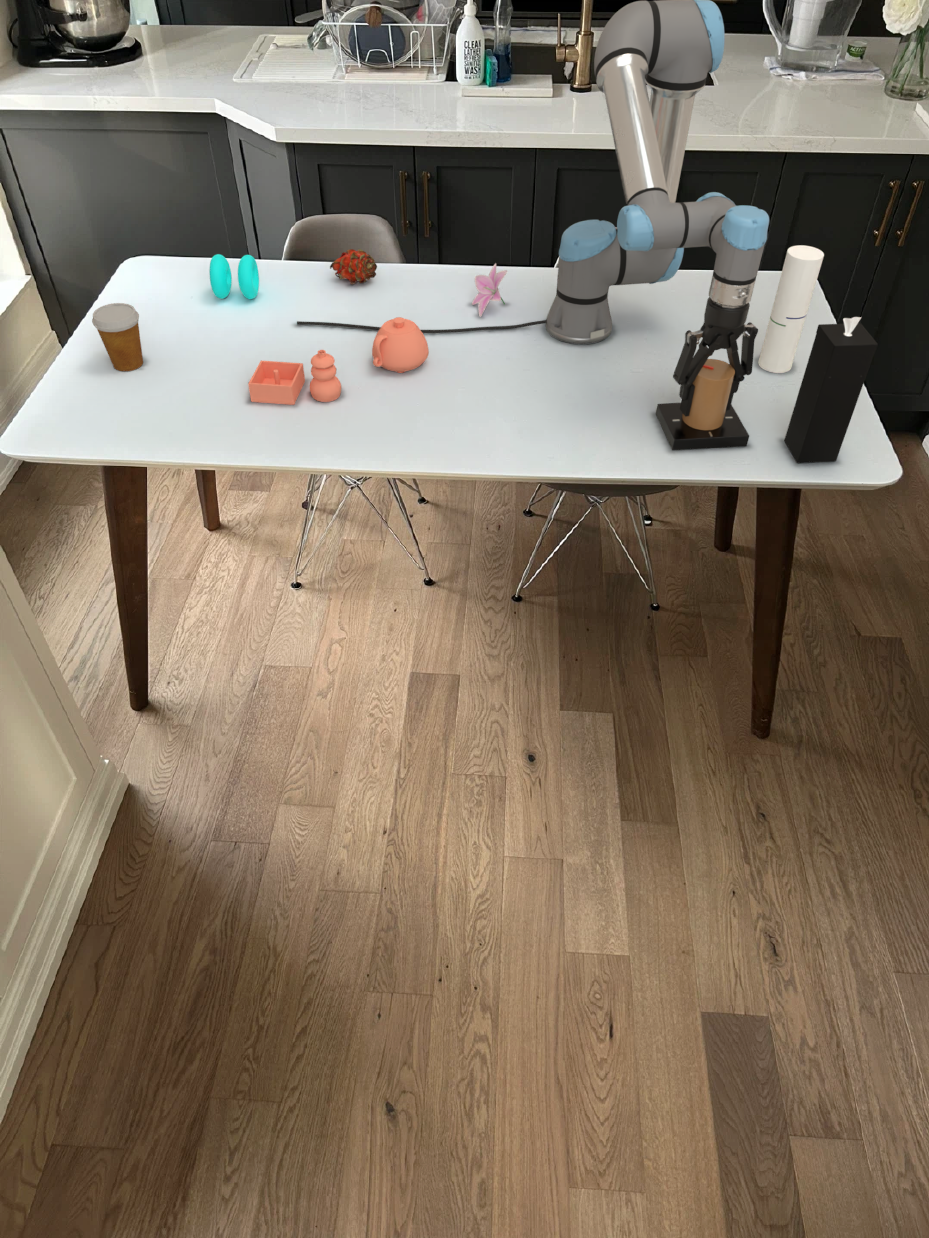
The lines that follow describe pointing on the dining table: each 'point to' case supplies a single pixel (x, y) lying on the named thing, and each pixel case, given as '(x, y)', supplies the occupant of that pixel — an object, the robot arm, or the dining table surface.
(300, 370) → the terracotta box and gourd
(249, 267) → the donuts
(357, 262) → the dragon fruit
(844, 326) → the tissue box
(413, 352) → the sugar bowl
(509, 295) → the dining table surface
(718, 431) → the control knob panel
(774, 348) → the cylindrical container
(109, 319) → the disposable coffee cup
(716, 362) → the tan pointer knob
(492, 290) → the lily
